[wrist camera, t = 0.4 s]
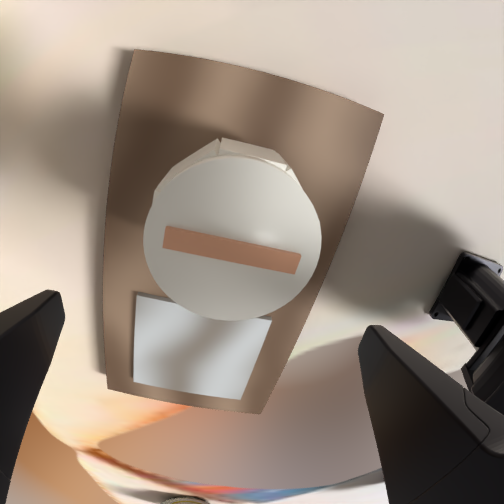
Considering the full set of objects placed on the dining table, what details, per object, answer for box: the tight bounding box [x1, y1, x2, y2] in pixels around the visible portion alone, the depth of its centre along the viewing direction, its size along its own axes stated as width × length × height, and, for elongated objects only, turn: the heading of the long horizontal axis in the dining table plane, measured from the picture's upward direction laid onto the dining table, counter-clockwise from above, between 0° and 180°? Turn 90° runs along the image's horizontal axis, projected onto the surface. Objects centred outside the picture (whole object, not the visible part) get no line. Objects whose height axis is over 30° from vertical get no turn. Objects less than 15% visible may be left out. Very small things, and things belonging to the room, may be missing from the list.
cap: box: [143, 138, 321, 321], centre depth 14 cm, size 7×7×5 cm
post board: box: [103, 49, 384, 414], centre depth 18 cm, size 14×26×7 cm, turn 165°
